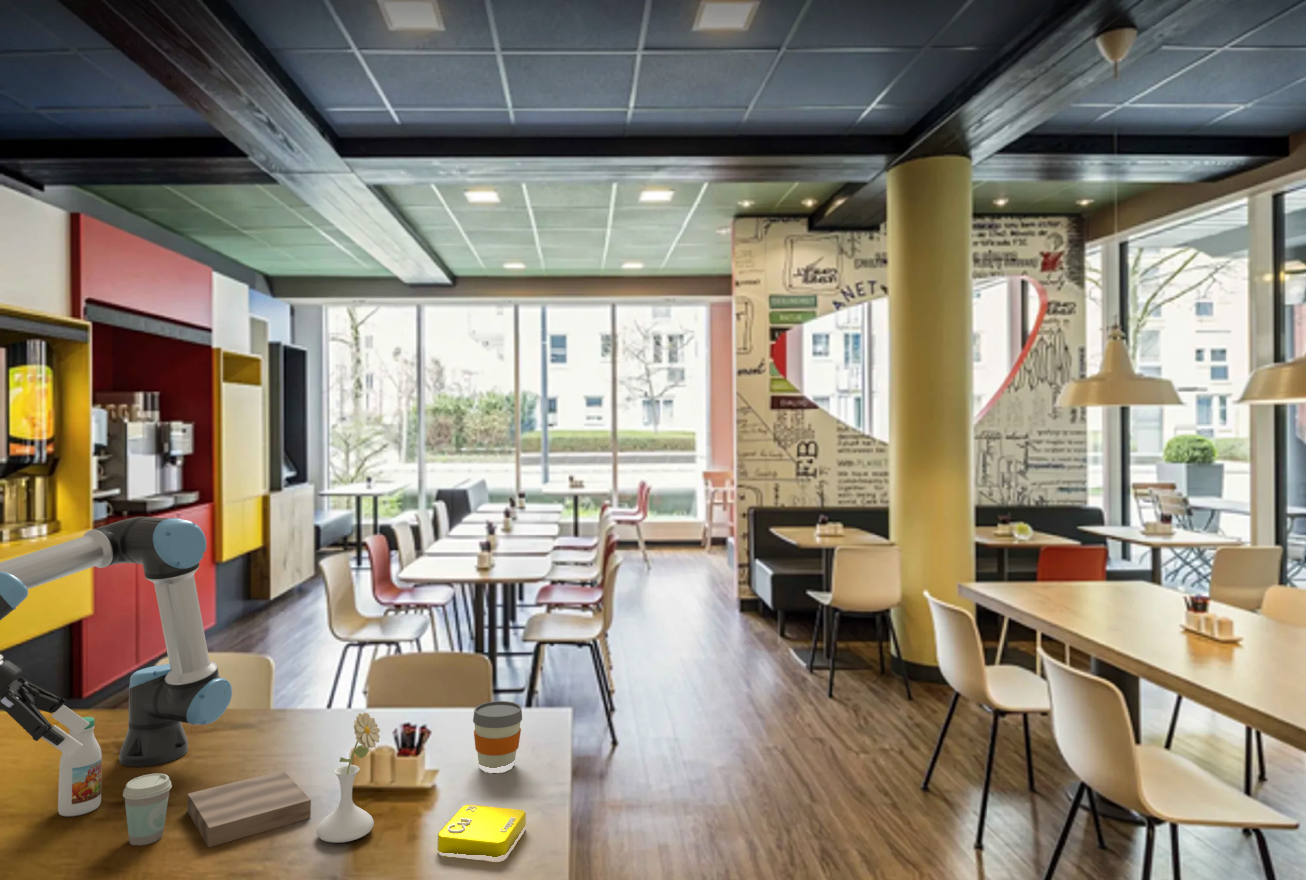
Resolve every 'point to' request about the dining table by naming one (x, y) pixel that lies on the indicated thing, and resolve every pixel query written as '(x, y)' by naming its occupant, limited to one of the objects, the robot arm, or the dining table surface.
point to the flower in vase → (347, 816)
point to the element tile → (481, 830)
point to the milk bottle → (81, 775)
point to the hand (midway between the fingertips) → (80, 739)
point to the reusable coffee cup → (497, 732)
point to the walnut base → (247, 807)
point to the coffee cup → (146, 807)
